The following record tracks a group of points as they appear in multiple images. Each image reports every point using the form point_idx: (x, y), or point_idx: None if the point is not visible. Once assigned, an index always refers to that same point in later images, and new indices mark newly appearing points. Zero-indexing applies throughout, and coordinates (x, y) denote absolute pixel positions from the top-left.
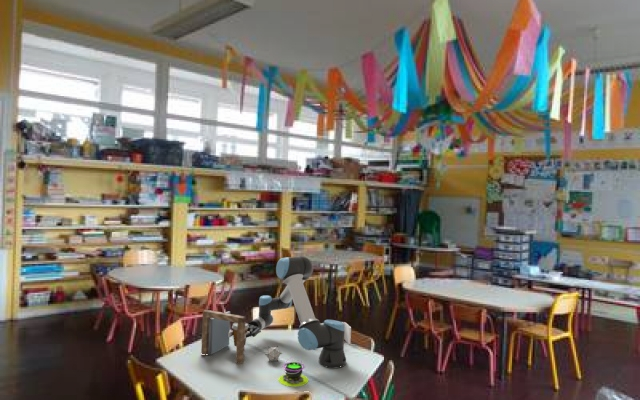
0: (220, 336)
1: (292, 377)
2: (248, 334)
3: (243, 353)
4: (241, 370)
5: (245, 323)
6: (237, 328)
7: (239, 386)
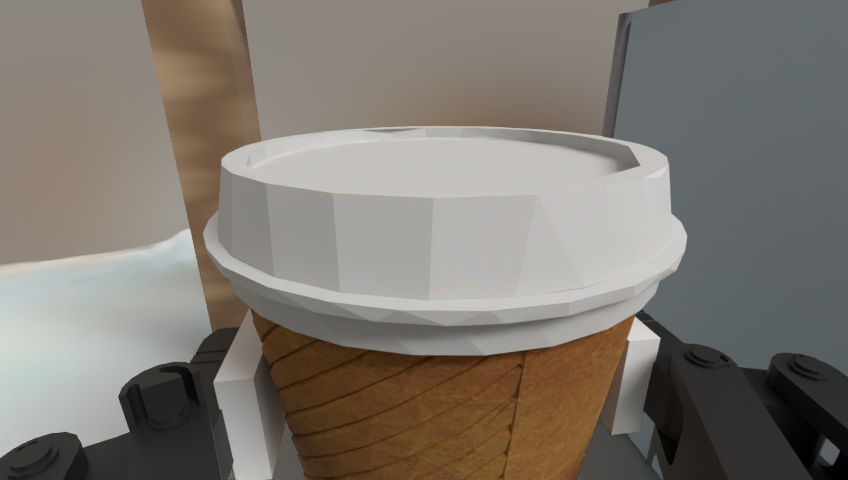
0: (702, 334)
1: None
2: (204, 356)
3: None
4: (200, 330)
5: (412, 213)
6: (247, 53)
7: (162, 255)
